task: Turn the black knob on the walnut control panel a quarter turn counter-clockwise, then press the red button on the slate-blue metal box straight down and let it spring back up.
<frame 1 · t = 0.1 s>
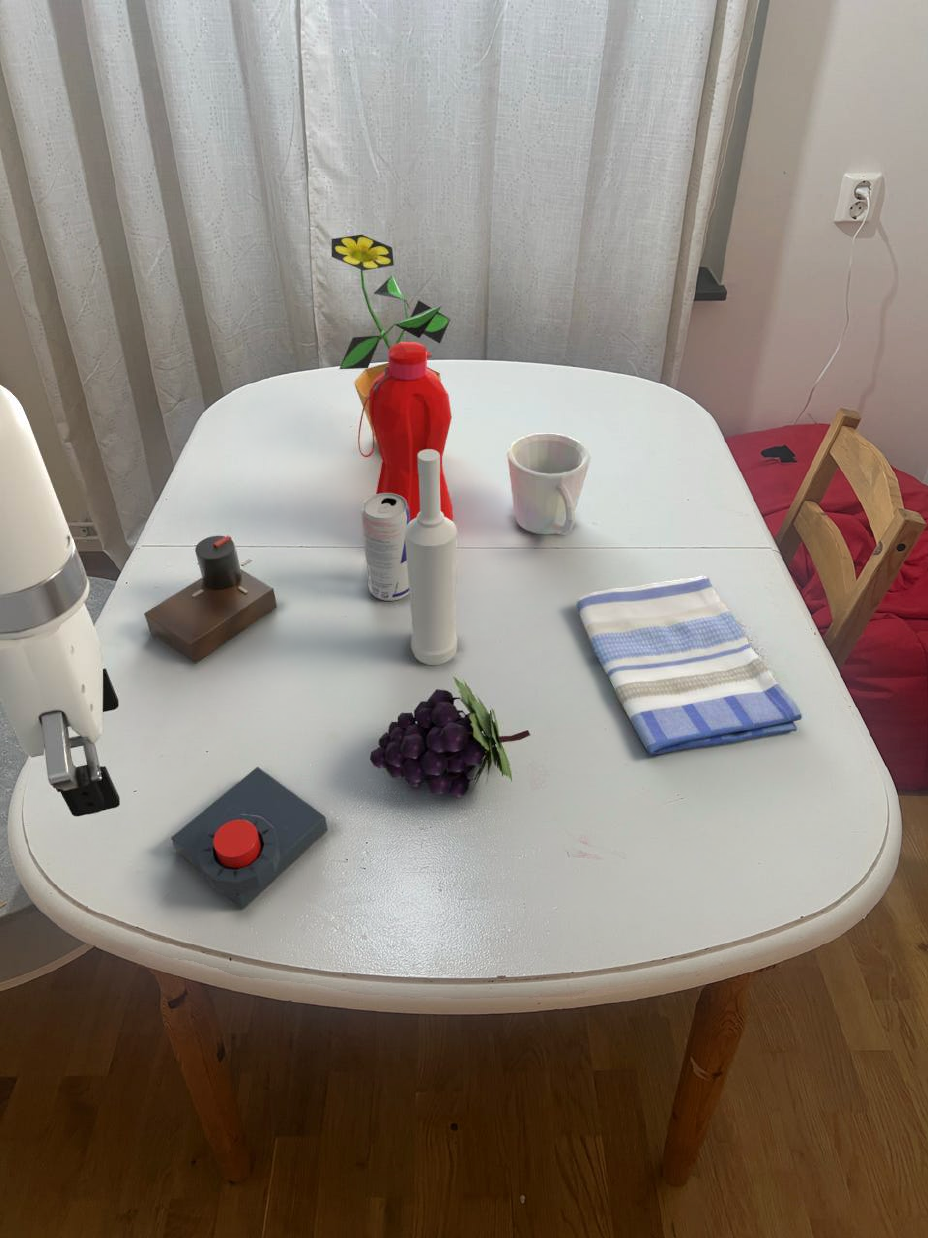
hand: (98, 756, 64), 16 cm above the table, tool pointing down, fingers open, 9 cm apart
energy drink: (391, 589, 103), on the table
mug: (548, 529, 112), on the table
bottle: (434, 651, 95), on the table
potted plant: (403, 444, 128), on the table
console: (214, 620, 98), on the table
button box: (252, 841, 77), on the table
dish towel: (678, 666, 93), on the table
plunger: (237, 843, 71), point 4 cm above the table, slide at 0.1 cm
dial: (218, 561, 98), point 5 cm above the table, hinge at 0.0°
fruit: (449, 773, 82), on the table
water bottle: (408, 532, 111), on the table
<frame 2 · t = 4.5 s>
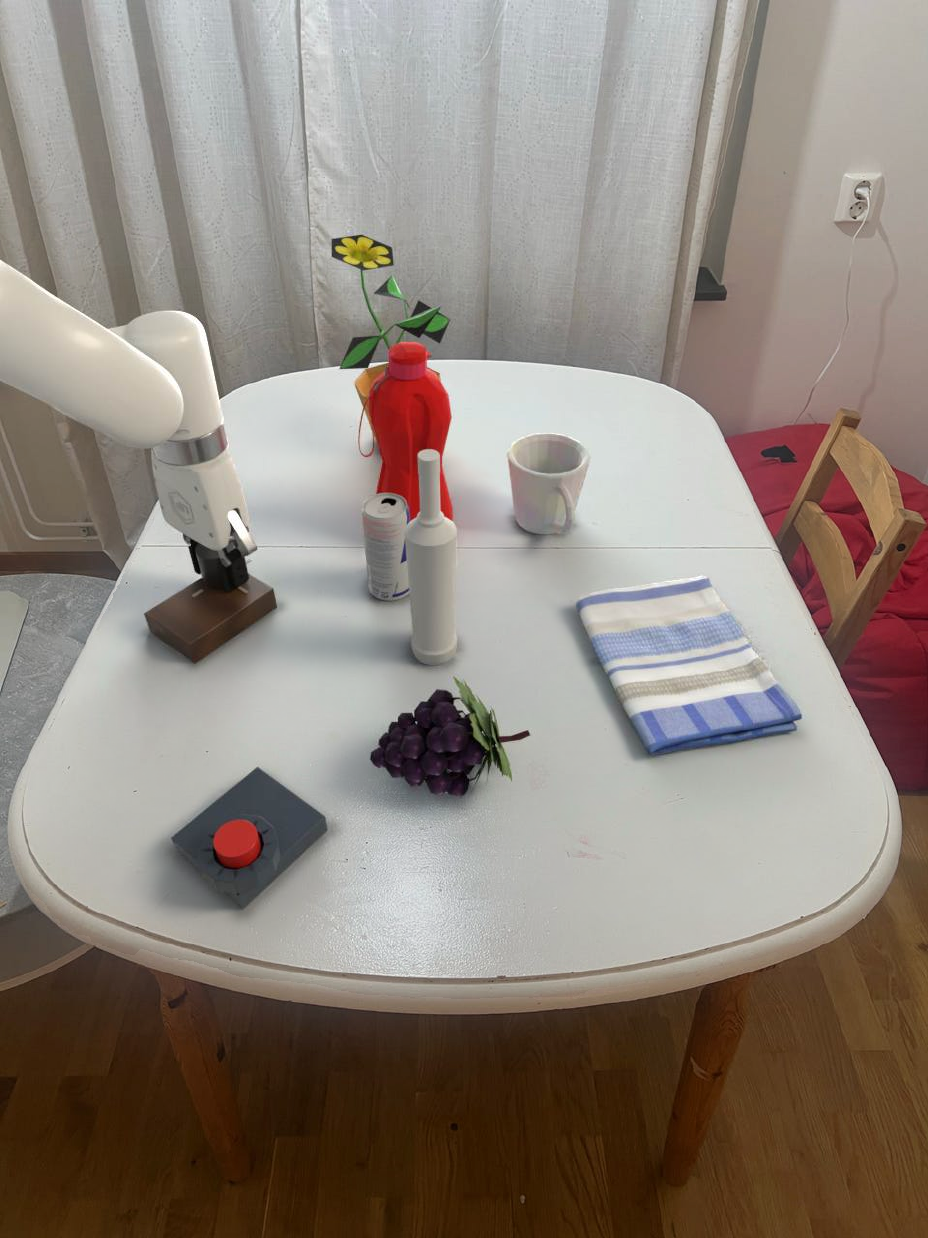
hand: (222, 575, 99), 3 cm above the table, tool pointing down, fingers closed on dial, 4 cm apart
dial: (218, 561, 98), point 5 cm above the table, hinge at 0.0°, touching gripper
everything else where it was.
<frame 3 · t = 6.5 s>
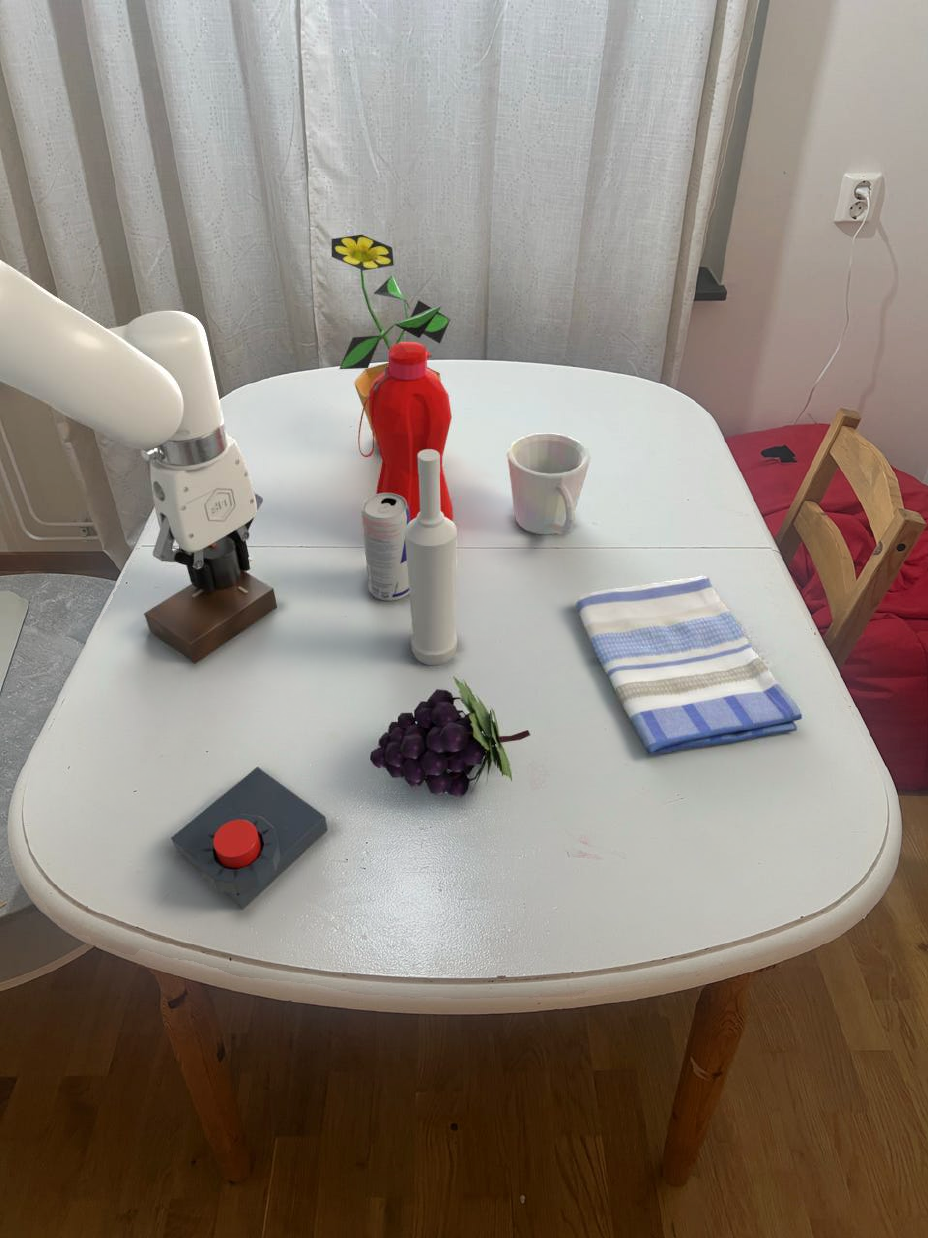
hand: (222, 575, 99), 3 cm above the table, tool pointing down, fingers closed on dial, 4 cm apart
dial: (218, 561, 98), point 5 cm above the table, hinge at 90.4°, touching gripper
everything else where it was.
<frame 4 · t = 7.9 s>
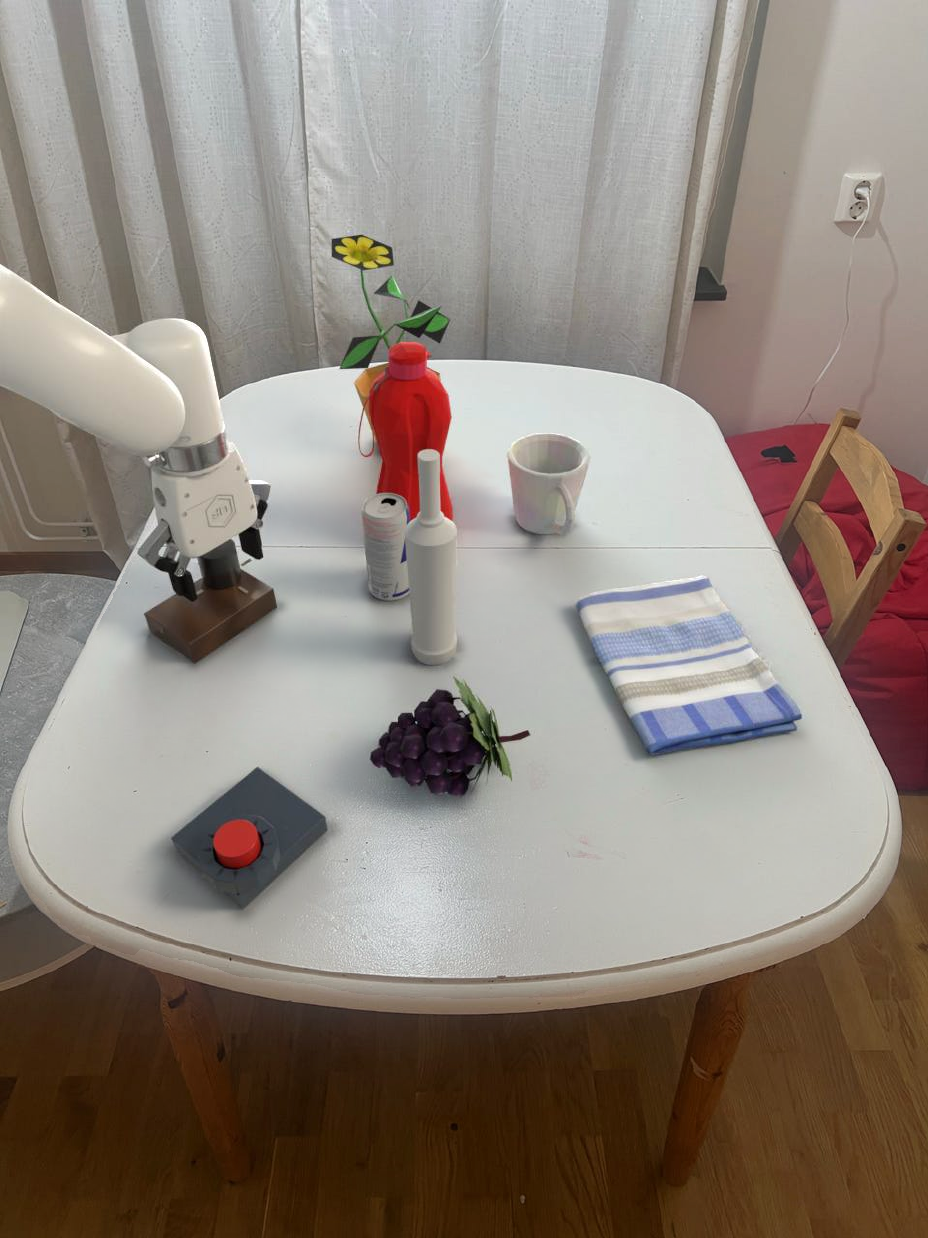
hand: (220, 574, 99), 4 cm above the table, tool pointing down, fingers open, 9 cm apart
dial: (218, 561, 98), point 5 cm above the table, hinge at 90.4°
everything else where it was.
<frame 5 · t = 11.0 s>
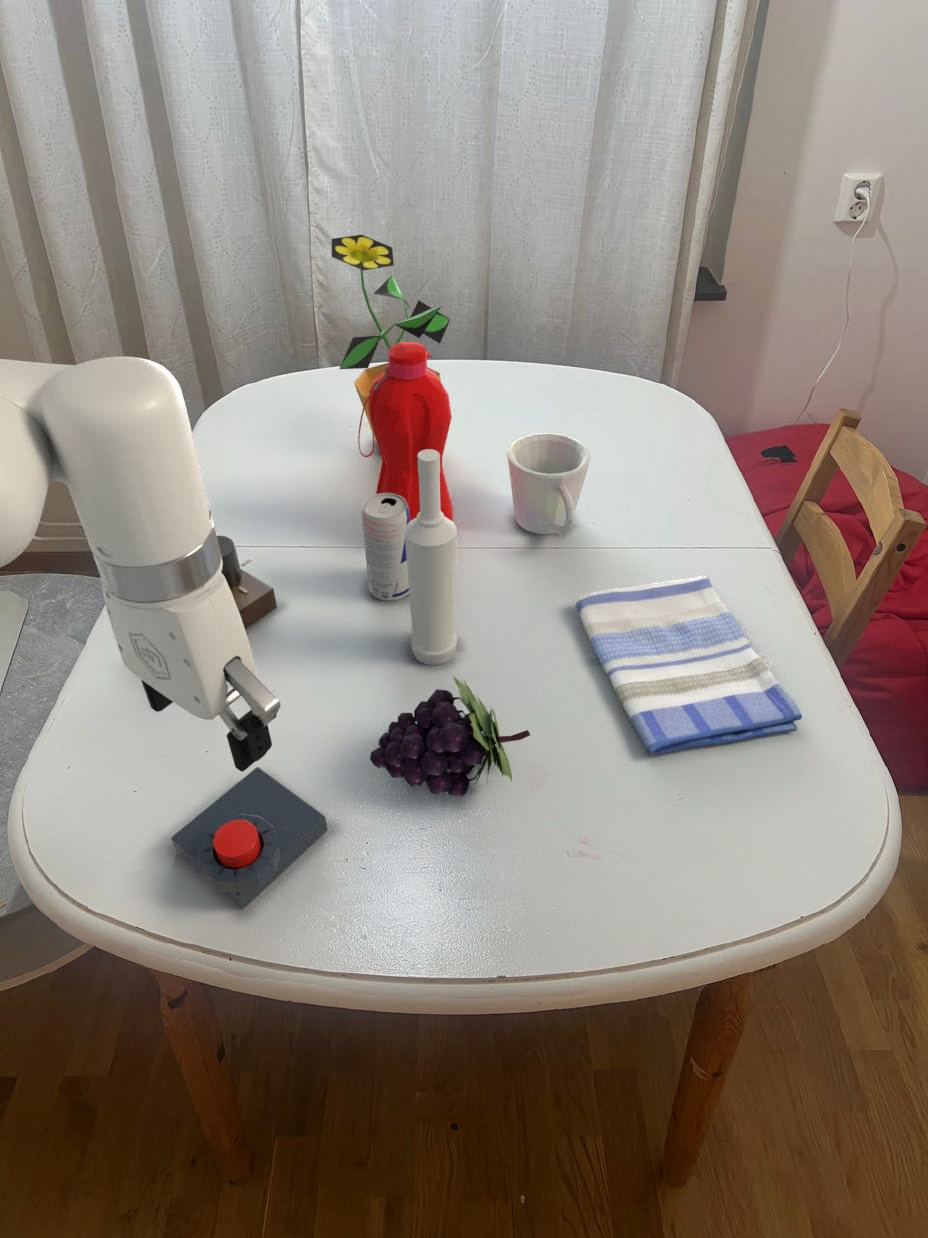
hand: (211, 728, 66), 15 cm above the table, tool pointing down, fingers open, 9 cm apart
nothing on the table moved.
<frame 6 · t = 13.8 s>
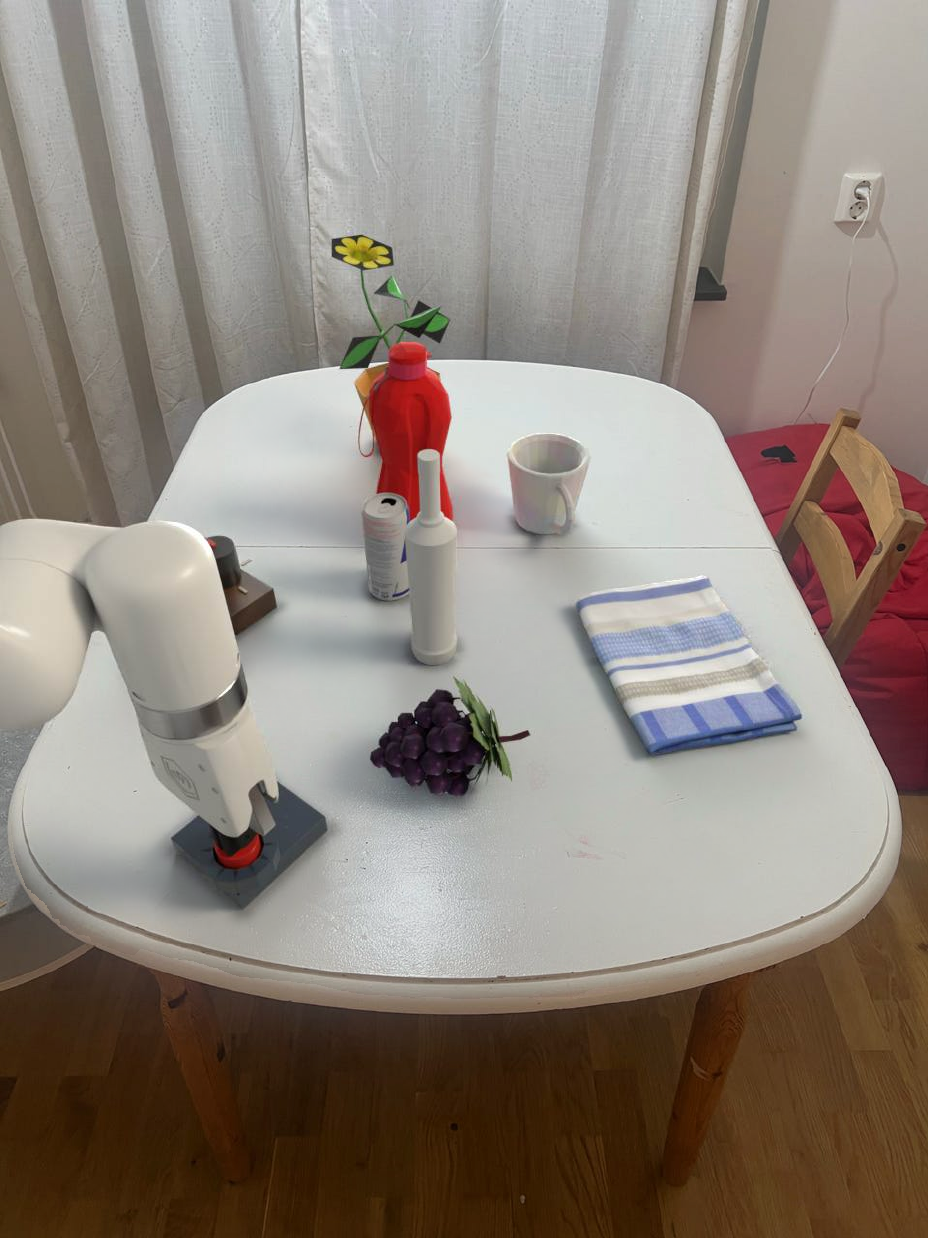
hand: (238, 840, 71), 5 cm above the table, tool pointing down, fingers closed
plunger: (238, 846, 71), point 4 cm above the table, slide at -0.3 cm, touching gripper
everything else where it was.
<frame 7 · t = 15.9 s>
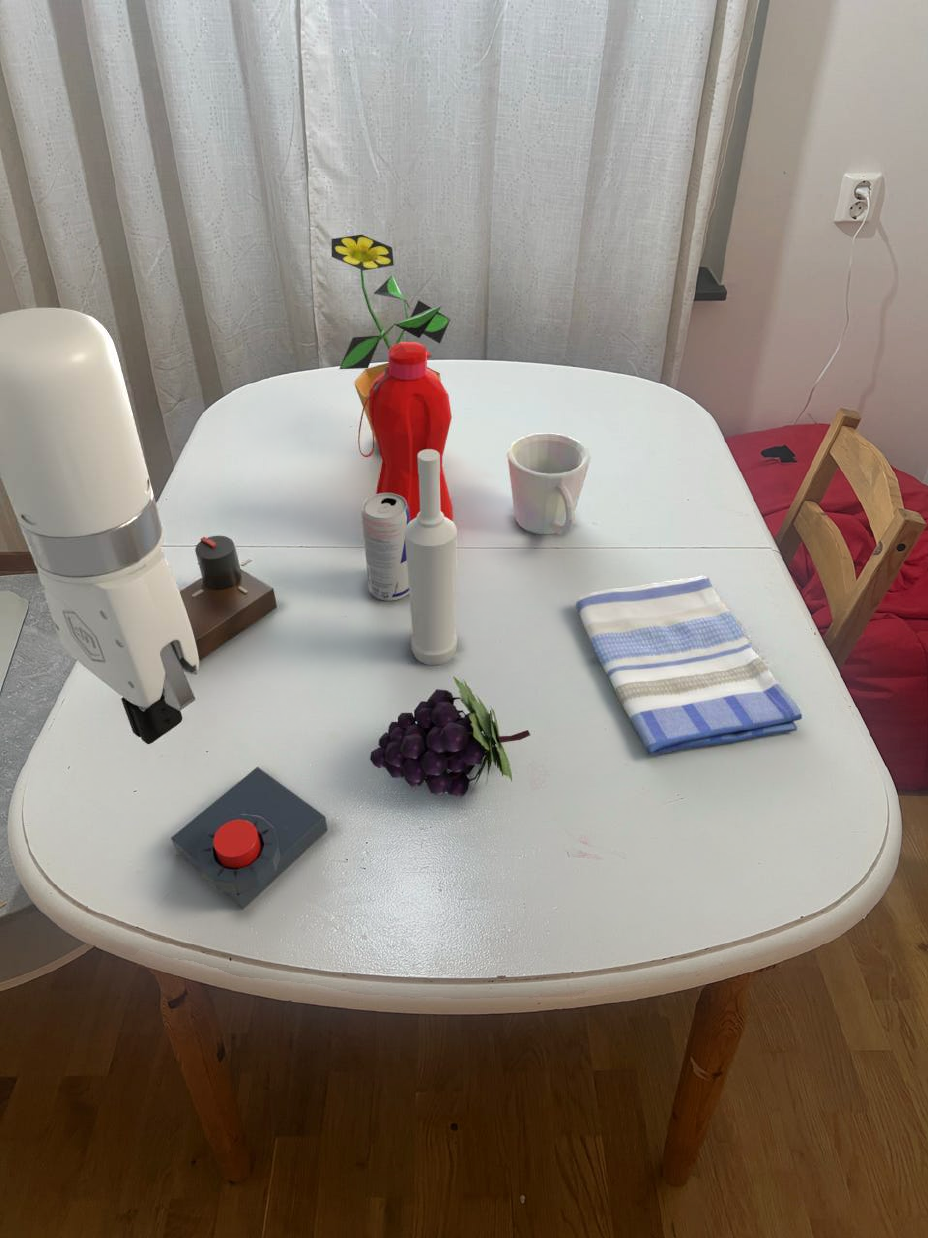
hand: (158, 727, 63), 18 cm above the table, tool pointing down, fingers closed
plunger: (237, 843, 71), point 4 cm above the table, slide at 0.1 cm
everything else where it was.
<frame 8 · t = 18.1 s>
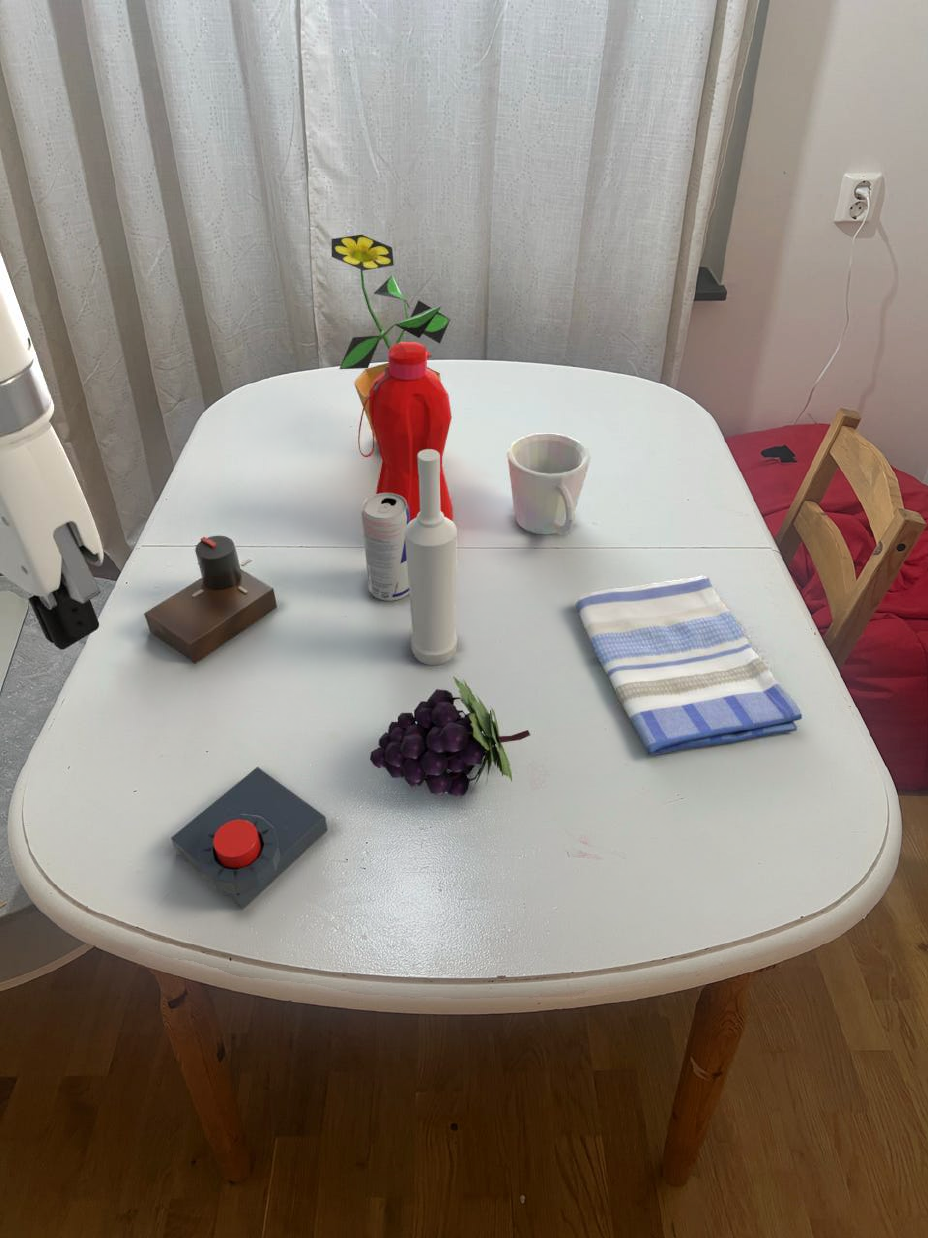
hand: (74, 634, 60), 25 cm above the table, tool pointing down, fingers closed
nothing on the table moved.
at the end: dial at +90° (first picture: +0°); plunger pushed in 1.1 cm at the most during the clip, back to where it started at the end; plunger slide at 0.1 cm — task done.
